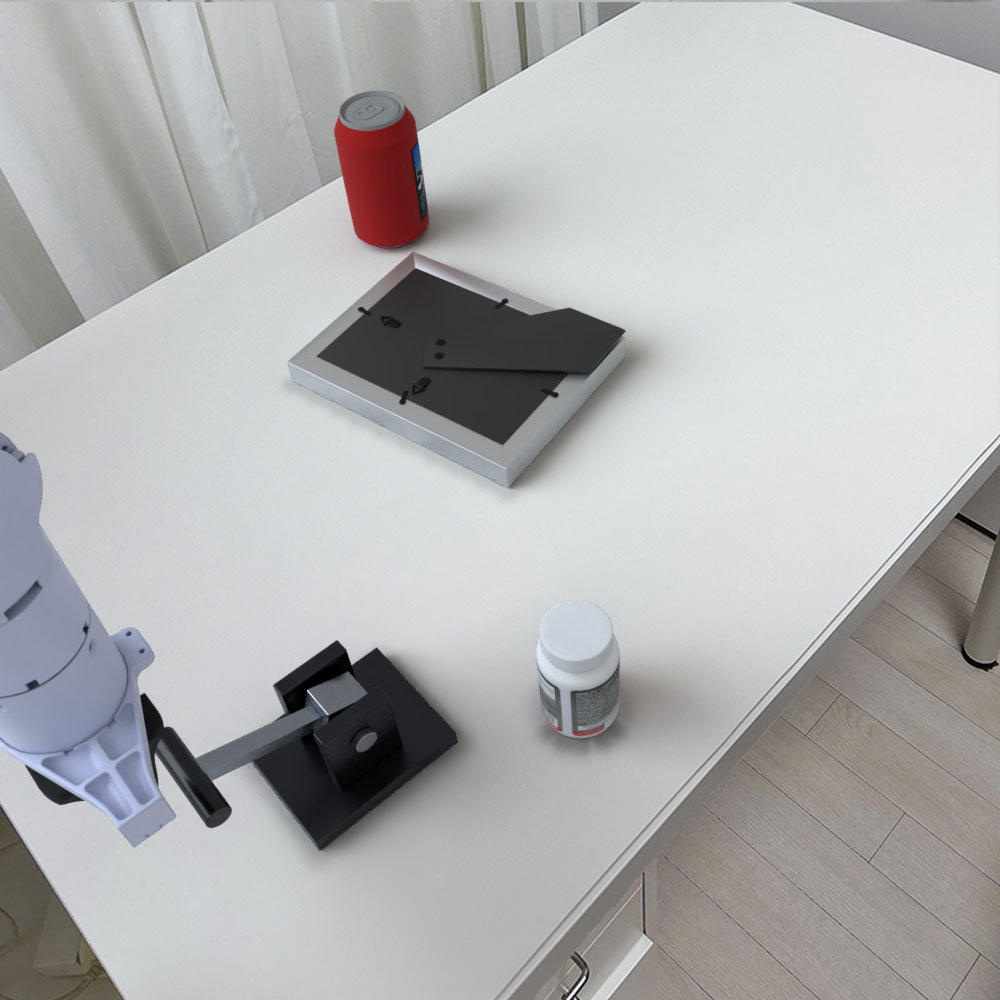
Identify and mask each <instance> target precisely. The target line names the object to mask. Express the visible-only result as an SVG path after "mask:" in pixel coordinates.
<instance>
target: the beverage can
mask: <svg viewBox="0 0 1000 1000" xmlns="http://www.w3.org/2000/svg"><path fill="white" fill-rule="evenodd" d="M333 135H334V139H335V145H336V149H337V150H336V151H337V155H338V160H339V165H340V170H341V175H342V180H343V186H344V189H345V194H346V200H347V204H348V208H349V213H350V219H351V222H352V226H353V231H354V234H355V235H356V237H357V238H358V239H359V240H360V241H362V243H364V244H367V245H370V246H372V247H378V248H385V249H389V248H390V249H391V248H398V247H403V246H405V245H407V244H409V243H412V242H414V241H415V240H417V239H419V238H420V237H421V236H423V234H424V233H425V232H426V230H428V229H427V228H428V227H429V223H430V214H429V208H428V199H427V192H426V184H425V177H424V170H423V163H422V155H421V149H420V142H419V135H418V130H417V121H416V118H415V116H414V115H413V113H412V111H410V109H409V108H408V107H407V106H406V104H405V102H404V100H403V98H402V97H401V96H400V95H398V94H396V93H394V92H391V91H387V90H368V91H363V92H359V93H356V94H354V95H351V96H350V97H348V98H347V99H346V100H344V101H343V103H342V104H341V105H340V106H339V108H338V116H337V120H336V122H335V125H334V129H333Z"/></svg>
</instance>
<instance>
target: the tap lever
mask: <svg viewBox="0 0 1000 1000" xmlns="http://www.w3.org/2000/svg"><path fill="white" fill-rule="evenodd" d="M366 694H367V692H366V691H365V690H364V689H363V688H362V686H361V685H360V684H359V683H358V682H357V681H356V680H355V679H354V677H353V676H352V675H351V674H350V673H349V672H348V671H347V672H345V673H342V674H340V675H338V676H336V677H334V678H331V679H329V680H327V681H325V682H323V683H320V684H318V685H316V686H314V687H311V688H309V689H307V692H306V699H305V707H304V708H302V709H300V710H298V711H296V712H294V713H292V714H290V715H287V716H285V717H283V718H281V719H279V720H277V721H275V720H273V721H274V722H273V721H271V722H269V723H268V724H266V725H264V726H261V727H260V728H258V729H255V730H253V731H251V732H249V733H246V734H245V735H243V736H240V737H237V738H236V739H234V740H232V741H229V742H227V743H224V744H223V745H221V746H218V747H217V748H215V749H212V750H210V751H207V752H206V753H203V754H201V755H199V756H196V757H195V756H194V754H193V753H192V751H190V749H189V747H188V745H186V744H185V742H184V741H183V739H182V738H181V737H180V735H179V733H177V732H176V730H175V729H174V728H173V727H172V726H164V729H165V733H164V735H163V737H162V738H161V740H160V741H159V743H158V745H157V748H156V751H155V756H156V757H157V758H158V759H159V761H160V763H161V764H162V765H163V767H164V768H165V769H166V771H167V772H168V774H169V776H171V778H172V780H174V782H175V784H176V785H177V786H178V788H179V789H180V791H181V792H182V793H183V795H184V796H185V798H186V799H187V801H188V802H189V804H190V805H191V806H192V808H193V809H194V811H195V812H196V814H197V815H198V816H199V818H200V819H201V821H202V822H203V823H204V825H205V826H206V827H207V828H209V829H215V828H217V827H219V826H221V825H223V824H224V823H226V822H227V821H228V820H229V818H231V815H232V813H233V807H232V806H231V804H229V803H228V800H227V799H226V798H225V797H224V795H223V794H222V793H221V791H220V790H219V789H218V787H217V786H216V785H215V783H214V782H213V781H215V780H217V779H219V778H221V777H222V776H225V775H227V774H229V773H232V772H233V771H236V770H238V769H239V768H241V767H243V766H245V765H248V764H250V763H252V761H254V760H256V759H258V758H260V757H262V756H264V755H266V754H268V753H270V752H273V751H275V750H277V749H279V748H281V747H283V746H285V745H287V744H289V743H291V742H293V741H295V740H297V739H299V738H302V737H304V736H306V735H308V734H310V733H312V732H316V731H317V730H318V729H320V728H321V727H322V726H324V725H325V724H327V723H328V722H329V721H331V720H332V719H333V718H335V717H336V716H337V715H339V714H340V713H341V712H343V711H344V710H346V709H347V708H348V707H350V706H351V705H352V704H354V703H355V702H356V701H358V700H359V699H361V698H362V697H363V696H365V695H366Z"/></svg>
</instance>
